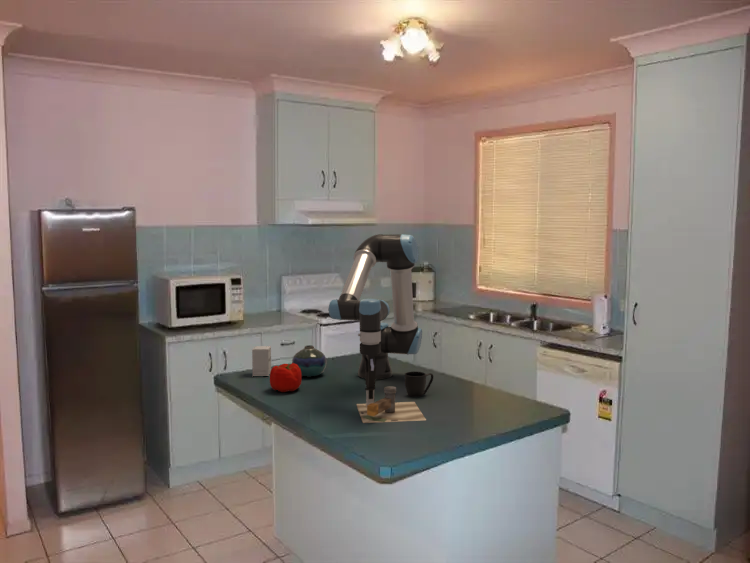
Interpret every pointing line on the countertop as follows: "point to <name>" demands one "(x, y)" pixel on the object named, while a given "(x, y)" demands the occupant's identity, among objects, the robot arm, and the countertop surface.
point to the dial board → (393, 413)
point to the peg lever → (383, 402)
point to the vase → (310, 361)
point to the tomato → (285, 377)
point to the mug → (416, 383)
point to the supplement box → (261, 360)
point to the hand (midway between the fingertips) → (370, 406)
